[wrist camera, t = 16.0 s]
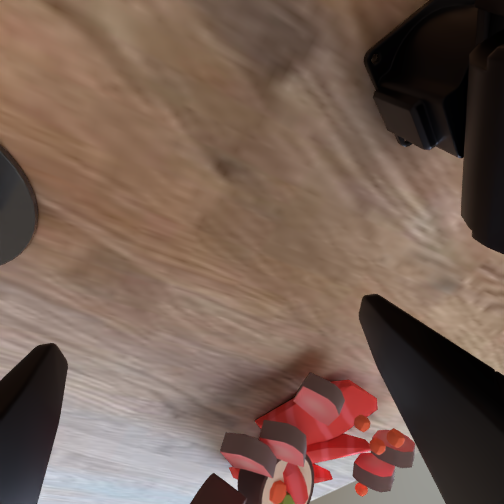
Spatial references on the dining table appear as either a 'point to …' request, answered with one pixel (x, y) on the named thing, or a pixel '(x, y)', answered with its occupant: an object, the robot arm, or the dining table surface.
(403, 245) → the dining table surface
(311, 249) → the dining table surface
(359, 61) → the dining table surface
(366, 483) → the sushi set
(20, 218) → the coaster
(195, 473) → the dining table surface
